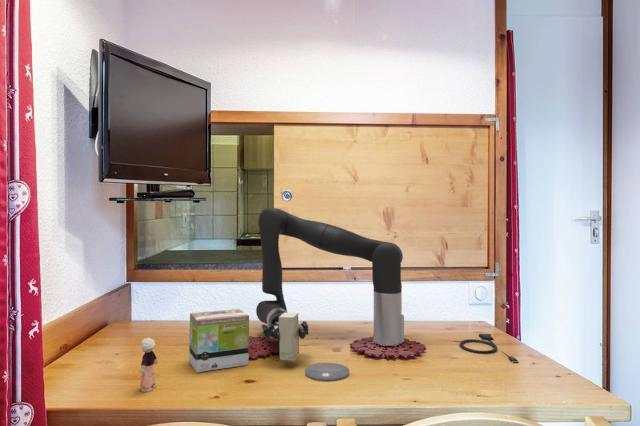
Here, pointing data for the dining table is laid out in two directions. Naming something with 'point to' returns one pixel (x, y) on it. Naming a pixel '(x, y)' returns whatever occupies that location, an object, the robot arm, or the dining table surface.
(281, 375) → the dining table surface
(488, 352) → the cable
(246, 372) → the dining table surface
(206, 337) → the tea box
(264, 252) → the robot arm
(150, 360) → the grandmother figurine
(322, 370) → the coaster
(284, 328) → the skincare box
